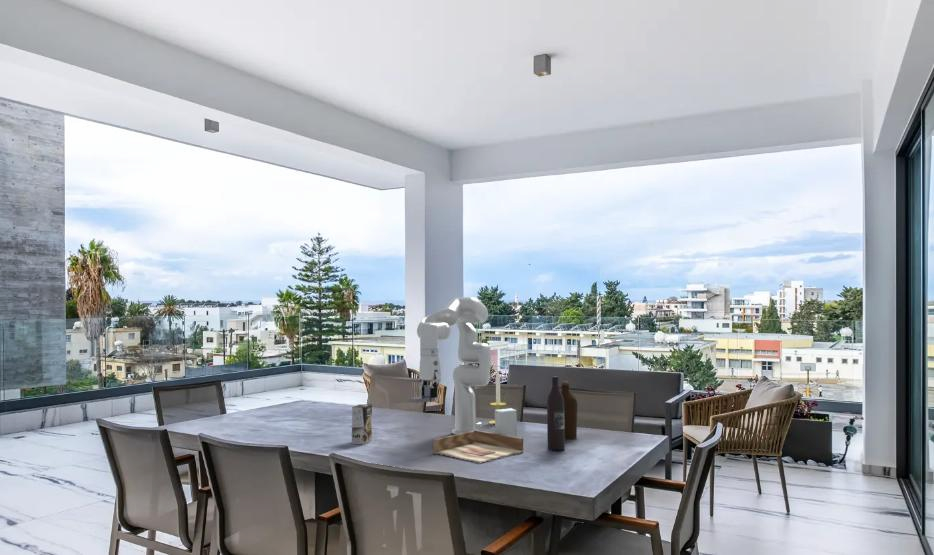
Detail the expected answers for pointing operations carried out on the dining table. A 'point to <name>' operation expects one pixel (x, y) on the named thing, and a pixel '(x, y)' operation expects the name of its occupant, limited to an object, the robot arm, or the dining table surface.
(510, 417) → the skincare box
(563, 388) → the olive oil
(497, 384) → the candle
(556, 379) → the wine bottle
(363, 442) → the coffee box
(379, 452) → the dining table surface
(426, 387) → the gray t-shaped block
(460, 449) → the corner arena
